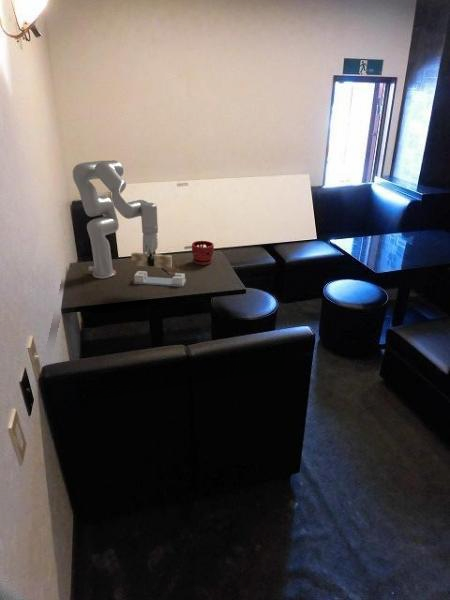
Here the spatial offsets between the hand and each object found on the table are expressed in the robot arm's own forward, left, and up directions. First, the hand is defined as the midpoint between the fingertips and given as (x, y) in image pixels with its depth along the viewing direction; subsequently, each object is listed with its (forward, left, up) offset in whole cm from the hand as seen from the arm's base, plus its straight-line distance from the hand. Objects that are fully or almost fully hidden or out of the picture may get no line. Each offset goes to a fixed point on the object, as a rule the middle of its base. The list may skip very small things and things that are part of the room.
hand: (151, 264), depth 204 cm
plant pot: (+18, +44, -14) cm, 49 cm away
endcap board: (+1, +10, -14) cm, 17 cm away
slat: (0, 0, -1) cm, 1 cm away
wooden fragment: (+1, +34, -14) cm, 37 cm away
